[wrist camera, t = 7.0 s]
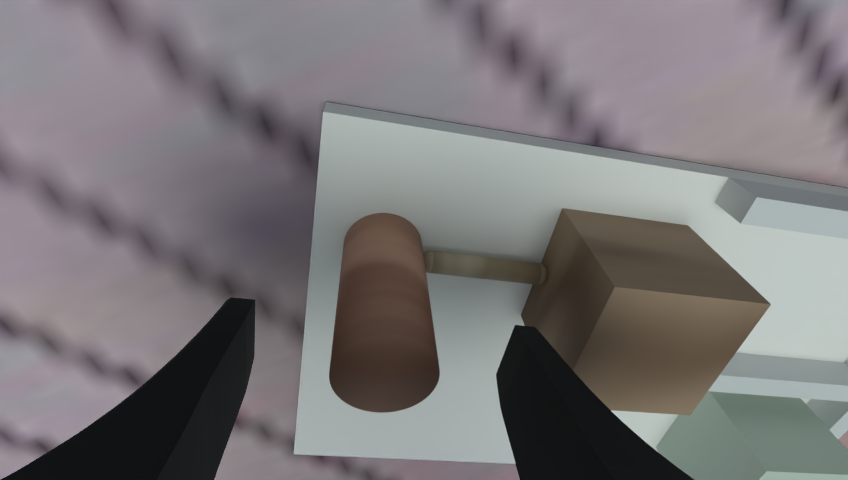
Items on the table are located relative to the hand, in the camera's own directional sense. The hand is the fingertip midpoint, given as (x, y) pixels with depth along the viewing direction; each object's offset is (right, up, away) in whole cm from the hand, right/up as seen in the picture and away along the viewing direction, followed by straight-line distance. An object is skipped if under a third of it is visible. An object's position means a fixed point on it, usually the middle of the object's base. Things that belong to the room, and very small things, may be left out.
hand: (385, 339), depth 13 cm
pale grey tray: (+9, -1, +9) cm, 13 cm away
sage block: (+16, -6, +11) cm, 21 cm away
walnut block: (+4, +2, +5) cm, 7 cm away
